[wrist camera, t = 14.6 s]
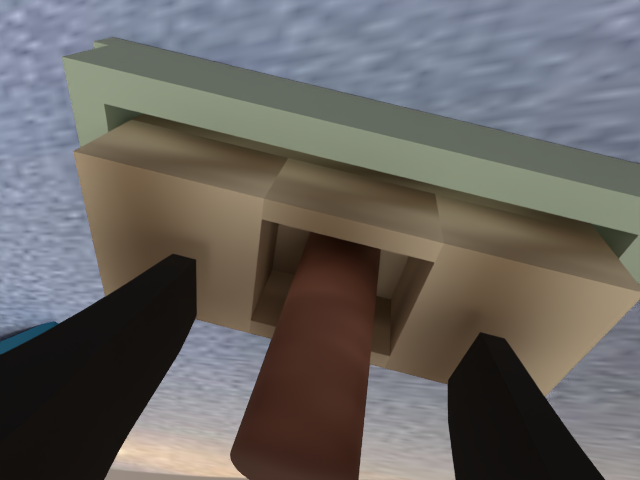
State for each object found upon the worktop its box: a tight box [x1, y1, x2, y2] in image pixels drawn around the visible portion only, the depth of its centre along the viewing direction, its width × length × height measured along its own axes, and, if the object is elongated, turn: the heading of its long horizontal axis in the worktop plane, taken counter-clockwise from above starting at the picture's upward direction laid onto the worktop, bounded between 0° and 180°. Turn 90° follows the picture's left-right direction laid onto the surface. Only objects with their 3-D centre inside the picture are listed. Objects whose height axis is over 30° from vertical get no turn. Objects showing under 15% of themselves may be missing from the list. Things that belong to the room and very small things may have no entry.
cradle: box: [62, 37, 640, 284], centre depth 13 cm, size 18×8×3 cm, turn 80°
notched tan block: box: [73, 113, 640, 396], centre depth 12 cm, size 14×5×4 cm, turn 80°
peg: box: [230, 232, 381, 480], centre depth 10 cm, size 2×2×7 cm
